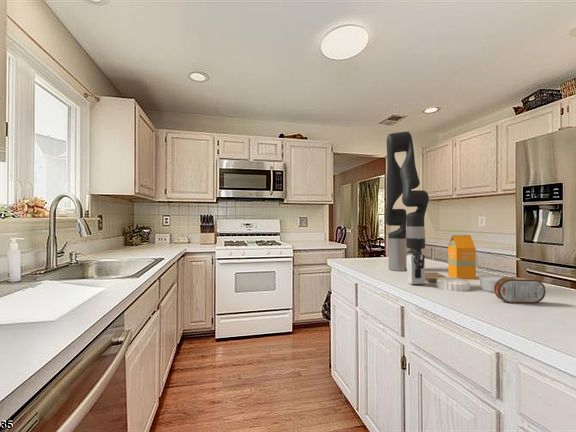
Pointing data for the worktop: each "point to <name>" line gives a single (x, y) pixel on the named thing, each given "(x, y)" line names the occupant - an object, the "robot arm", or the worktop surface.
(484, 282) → the ramekin
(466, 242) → the orange juice
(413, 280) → the skincare box
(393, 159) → the robot arm
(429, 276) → the walnut board
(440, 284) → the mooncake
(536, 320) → the worktop surface
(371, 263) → the worktop surface
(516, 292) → the tin
